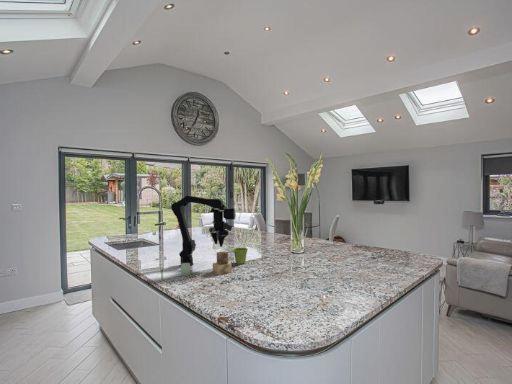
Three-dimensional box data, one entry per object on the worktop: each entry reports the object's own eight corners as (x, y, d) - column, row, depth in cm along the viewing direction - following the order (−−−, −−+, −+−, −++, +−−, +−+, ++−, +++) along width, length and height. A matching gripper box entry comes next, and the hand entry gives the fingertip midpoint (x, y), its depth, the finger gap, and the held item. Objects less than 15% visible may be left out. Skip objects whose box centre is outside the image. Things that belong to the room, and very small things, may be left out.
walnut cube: (219, 264, 163) (219, 254, 163) (216, 262, 167) (216, 252, 167) (228, 263, 165) (227, 253, 165) (225, 261, 169) (225, 251, 169)
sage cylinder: (179, 275, 160) (178, 264, 160) (184, 273, 165) (183, 262, 165) (187, 276, 158) (187, 265, 158) (192, 273, 163) (191, 263, 163)
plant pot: (246, 265, 179) (245, 251, 179) (231, 264, 181) (230, 250, 181) (249, 261, 188) (249, 247, 188) (235, 260, 190) (235, 247, 190)
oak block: (218, 275, 160) (218, 266, 160) (212, 271, 167) (212, 262, 167) (231, 272, 165) (231, 263, 164) (225, 269, 171) (225, 260, 171)
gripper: (236, 220, 173) (237, 246, 173) (225, 217, 190) (225, 241, 190) (218, 221, 168) (218, 248, 168) (208, 218, 185) (209, 243, 185)
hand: (218, 245), depth 178 cm, fingers open, 9 cm apart
